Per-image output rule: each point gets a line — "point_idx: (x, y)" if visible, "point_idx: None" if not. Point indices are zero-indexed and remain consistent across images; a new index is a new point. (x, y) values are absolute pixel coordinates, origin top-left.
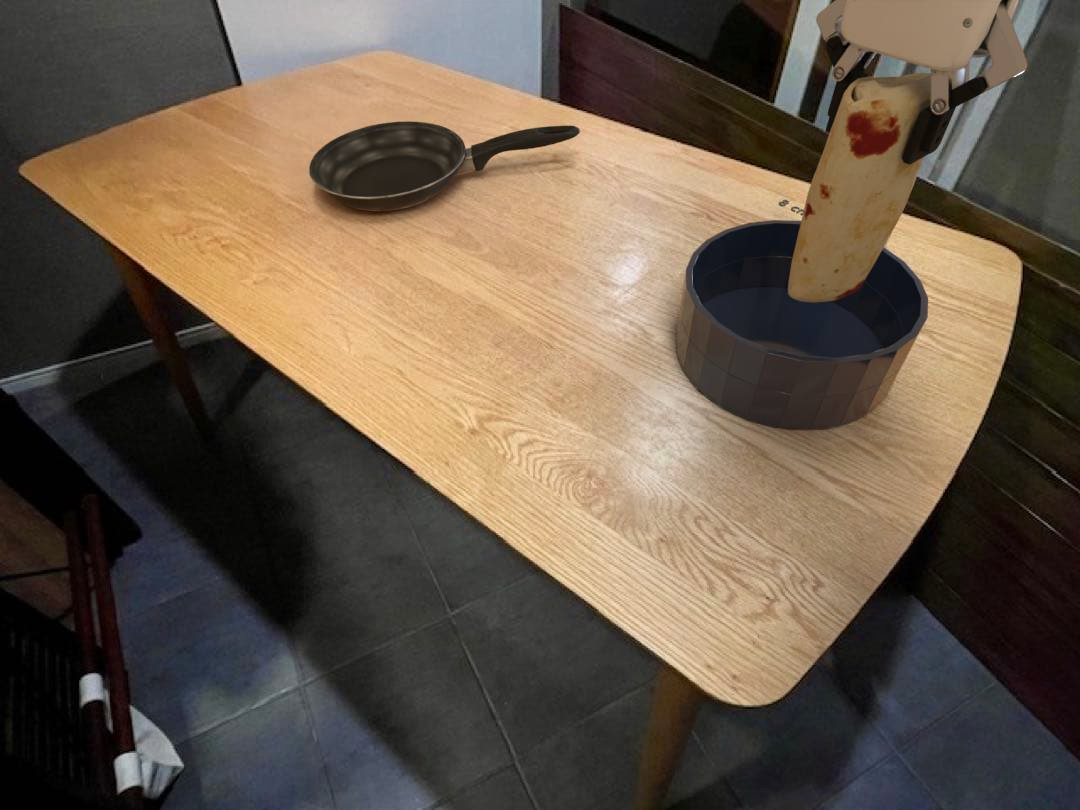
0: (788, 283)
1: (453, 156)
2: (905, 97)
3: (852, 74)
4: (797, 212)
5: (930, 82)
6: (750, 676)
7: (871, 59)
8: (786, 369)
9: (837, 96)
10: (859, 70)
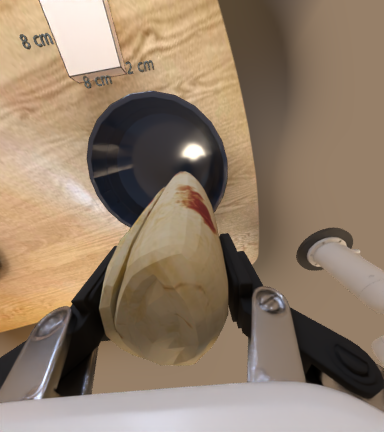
0: (125, 129)
1: None
2: (209, 345)
3: (96, 346)
4: (44, 45)
5: (211, 321)
6: (251, 260)
7: (63, 339)
8: None
9: None
10: (86, 338)
